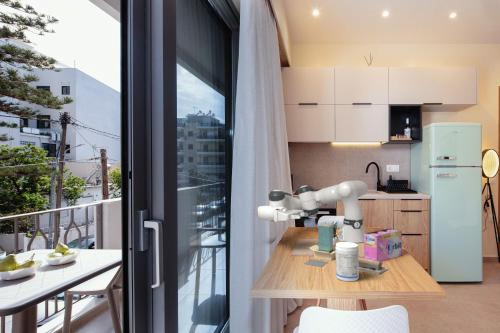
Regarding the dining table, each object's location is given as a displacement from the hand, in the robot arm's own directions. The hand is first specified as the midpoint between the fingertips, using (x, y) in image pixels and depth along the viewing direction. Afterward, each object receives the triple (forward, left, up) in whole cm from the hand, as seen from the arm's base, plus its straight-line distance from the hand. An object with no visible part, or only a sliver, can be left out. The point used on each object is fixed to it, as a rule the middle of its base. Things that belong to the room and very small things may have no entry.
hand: (303, 216), depth 177 cm
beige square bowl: (+8, +10, -21) cm, 25 cm away
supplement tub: (+39, +9, -22) cm, 45 cm away
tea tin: (+8, +10, -21) cm, 24 cm away
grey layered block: (+26, +22, -22) cm, 41 cm away
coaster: (+18, +1, -21) cm, 28 cm away
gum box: (+10, +40, -22) cm, 47 cm away
